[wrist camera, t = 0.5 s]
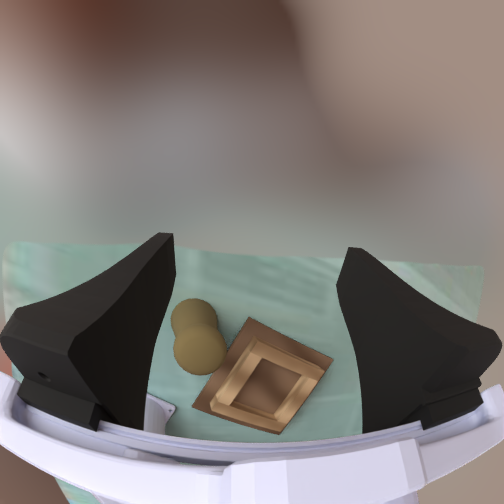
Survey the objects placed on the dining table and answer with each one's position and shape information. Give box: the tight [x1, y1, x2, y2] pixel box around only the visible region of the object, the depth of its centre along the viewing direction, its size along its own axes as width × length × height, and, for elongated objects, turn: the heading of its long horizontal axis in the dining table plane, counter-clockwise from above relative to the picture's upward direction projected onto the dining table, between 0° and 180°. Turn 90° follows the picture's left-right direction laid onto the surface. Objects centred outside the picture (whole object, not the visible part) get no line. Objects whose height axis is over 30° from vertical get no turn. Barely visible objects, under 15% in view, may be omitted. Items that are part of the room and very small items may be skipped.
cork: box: [171, 299, 227, 375], centre depth 29 cm, size 6×6×11 cm
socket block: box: [192, 317, 333, 435], centre depth 36 cm, size 16×16×2 cm
